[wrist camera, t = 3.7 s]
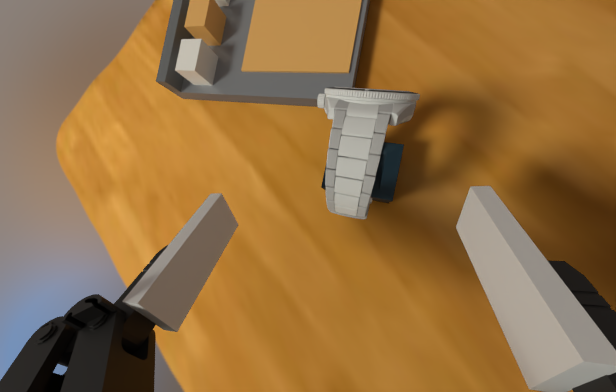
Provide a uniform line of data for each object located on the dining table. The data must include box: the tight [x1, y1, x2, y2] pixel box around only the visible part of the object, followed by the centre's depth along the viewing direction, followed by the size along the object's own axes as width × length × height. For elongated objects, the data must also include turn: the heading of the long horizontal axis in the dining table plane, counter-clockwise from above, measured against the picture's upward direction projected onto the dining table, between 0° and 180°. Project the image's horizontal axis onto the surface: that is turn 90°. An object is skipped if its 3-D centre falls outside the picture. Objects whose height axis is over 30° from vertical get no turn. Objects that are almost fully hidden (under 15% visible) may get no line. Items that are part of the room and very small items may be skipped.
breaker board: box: [156, 0, 370, 107], centre depth 22 cm, size 20×14×4 cm
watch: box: [317, 87, 420, 219], centre depth 15 cm, size 6×8×11 cm
